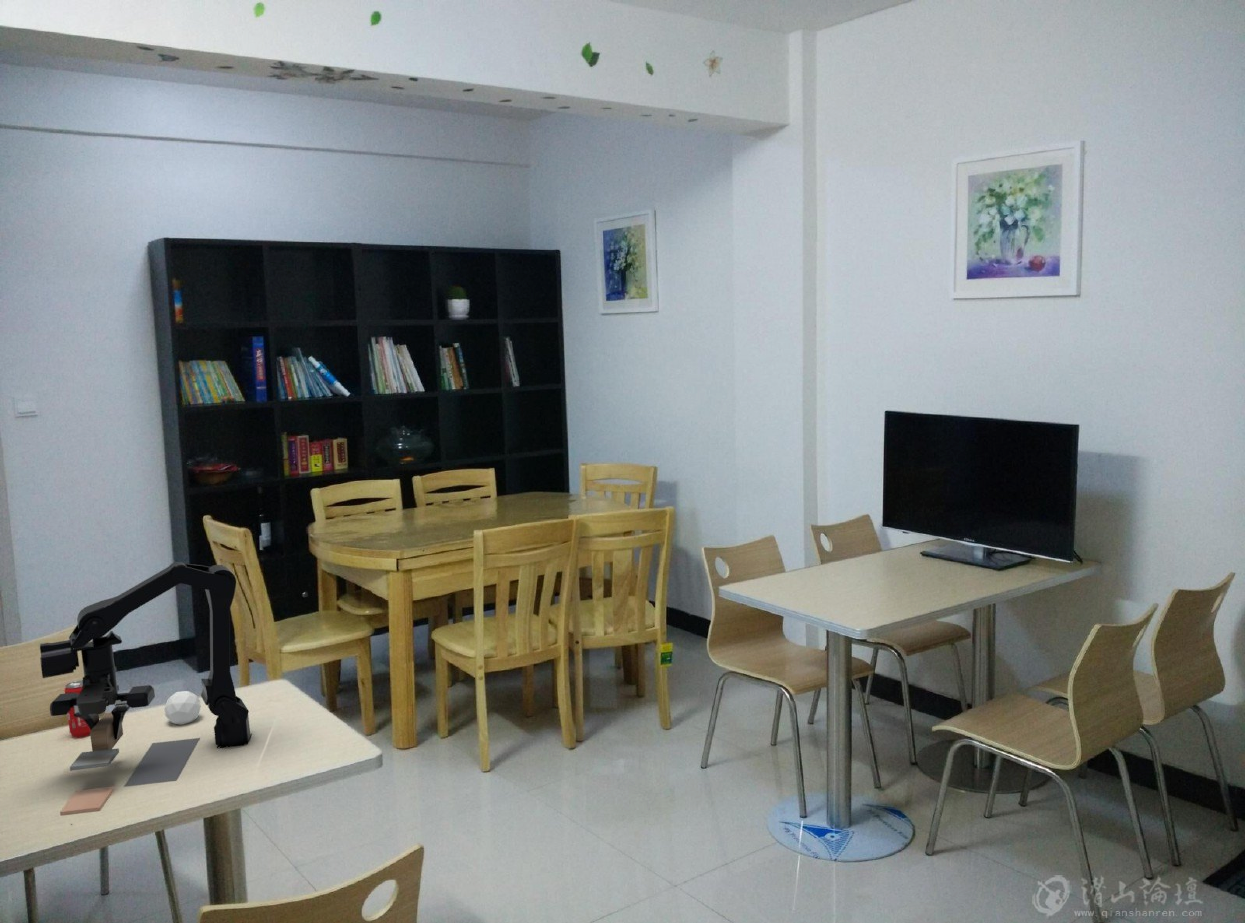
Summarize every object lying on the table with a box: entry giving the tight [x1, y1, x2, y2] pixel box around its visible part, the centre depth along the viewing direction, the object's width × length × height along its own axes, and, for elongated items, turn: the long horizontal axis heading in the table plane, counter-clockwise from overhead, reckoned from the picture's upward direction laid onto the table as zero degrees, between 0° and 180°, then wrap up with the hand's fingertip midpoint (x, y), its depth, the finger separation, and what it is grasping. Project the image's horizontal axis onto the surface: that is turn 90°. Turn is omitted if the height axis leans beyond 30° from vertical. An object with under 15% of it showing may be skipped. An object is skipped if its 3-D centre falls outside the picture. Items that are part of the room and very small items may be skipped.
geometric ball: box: [164, 690, 202, 726], centre depth 240 cm, size 8×8×8 cm
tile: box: [59, 786, 115, 816], centre depth 201 cm, size 7×2×9 cm
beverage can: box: [64, 679, 91, 739], centre depth 236 cm, size 5×5×12 cm
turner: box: [69, 712, 124, 771], centre depth 211 cm, size 17×7×5 cm, turn 10°
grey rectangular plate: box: [123, 737, 201, 788], centre depth 219 cm, size 10×22×1 cm, turn 10°
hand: (107, 739), depth 214 cm, fingers closed on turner, 3 cm apart
